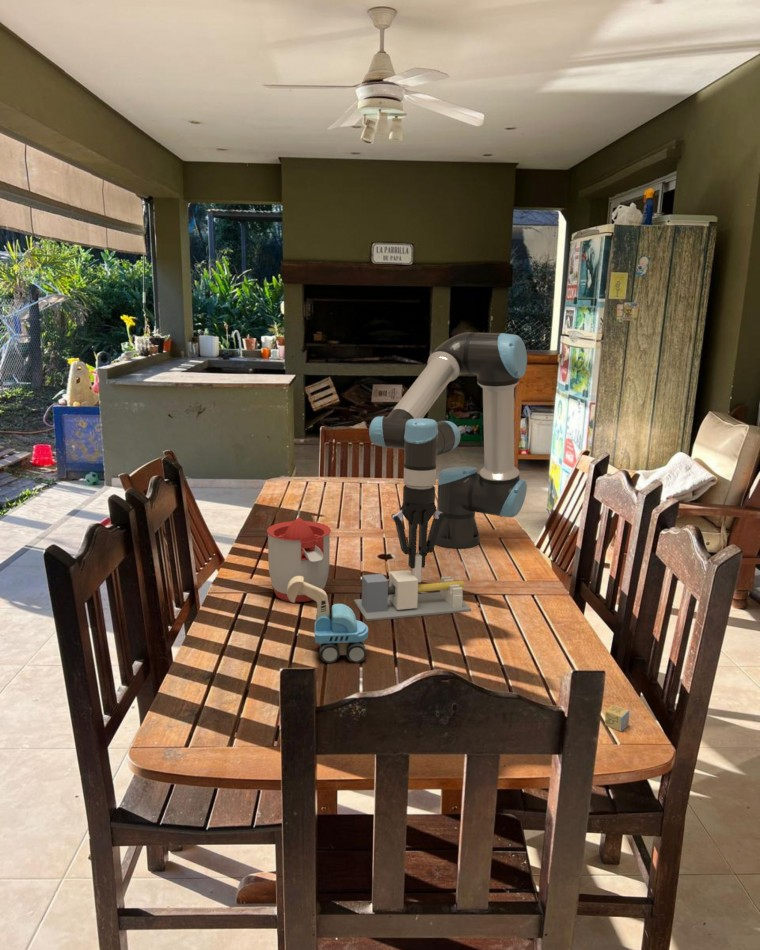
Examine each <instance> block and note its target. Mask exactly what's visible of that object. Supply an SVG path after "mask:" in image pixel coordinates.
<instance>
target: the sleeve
mask: <svg viewBox="0 0 760 950" xmlns="http://www.w3.org/2000/svg"><path fill="white" fill-rule="evenodd" d="M418 585H419V582H418V579H417V578H416V577H415V576H414V575H413V574H412V571H410V570H409V569H407V570H406V569H405V570H394V571H389V580H388V587H393V586H395V594H393V595H388V597H389V600H390V601H391V602H392V604H393V605H394V606H395V608H396V609H397V610H400V609H411V608H417V601H418V594H419V592H418Z"/></svg>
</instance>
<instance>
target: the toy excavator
mask: <svg viewBox="0 0 760 950" xmlns="http://www.w3.org/2000/svg"><path fill="white" fill-rule="evenodd" d="M299 592H301V593H302V594H304V595H306V596H308V597H310V598H311V599H313V600H312V601H315V602H316V613H315V614H316V615H315V622H314V643H316V644H319V650H318V652H319V657H320V659H321V661H322V662H324V663H325V664H326V663H327V664H332V663H335V662H337V660H338V659H339V657H340V656H346V658H347V659H348V661H349V662H352V663H354V664H359V663H362V662H363V661H365V658H366V656H367V648H366V645H365V641H366V639H368V637H369V627H368V625H367V624H366V623H364V622H363V621H361V620H357V617H356V614H355V612H354V611H353V609H352V608H350V606H348V605H347V604H344V603H334V604H333V605H332V606H331V613H330V608H329V607H330V605H329V599H328V594H327V592H326V591H325V589H324V590H322V589H320V588H318V587H316V586H313V585H311V584H309V583H306V582H304V577H303V576H296V577H294V578H292V579H291V580H290V581H289V583H288V586H287V597H288V599H289V600H290V601H291V602H290V603H292V602H293V604H294V603H296V602H295V599H296V597H297V595H298V593H299Z"/></svg>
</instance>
